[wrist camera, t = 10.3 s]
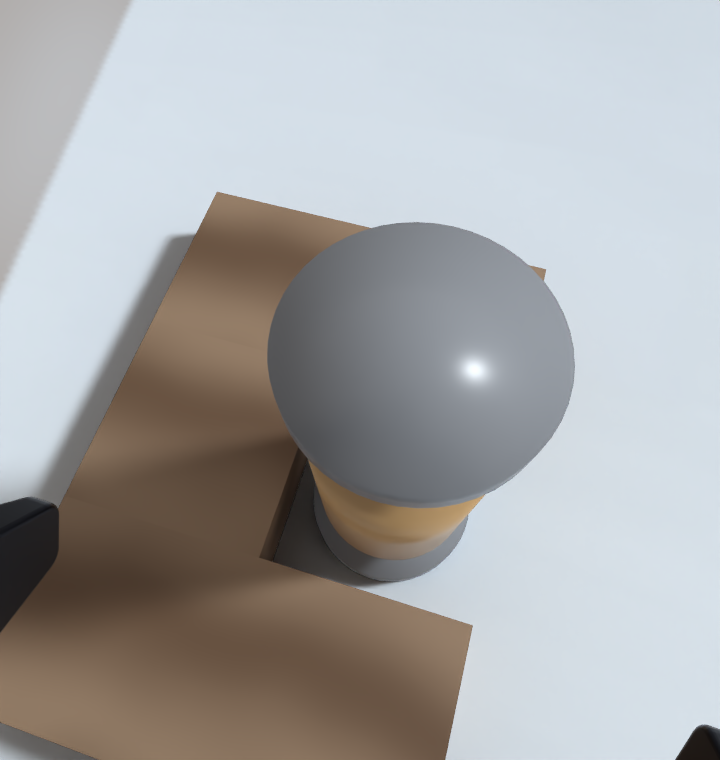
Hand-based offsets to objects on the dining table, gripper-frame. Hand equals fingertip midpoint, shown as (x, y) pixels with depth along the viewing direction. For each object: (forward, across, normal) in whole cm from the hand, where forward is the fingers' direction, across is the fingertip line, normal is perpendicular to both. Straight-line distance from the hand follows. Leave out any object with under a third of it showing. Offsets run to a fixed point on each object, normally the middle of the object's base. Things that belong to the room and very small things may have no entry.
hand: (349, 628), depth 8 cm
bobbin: (+13, 0, +6) cm, 14 cm away
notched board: (+13, +4, +6) cm, 15 cm away
